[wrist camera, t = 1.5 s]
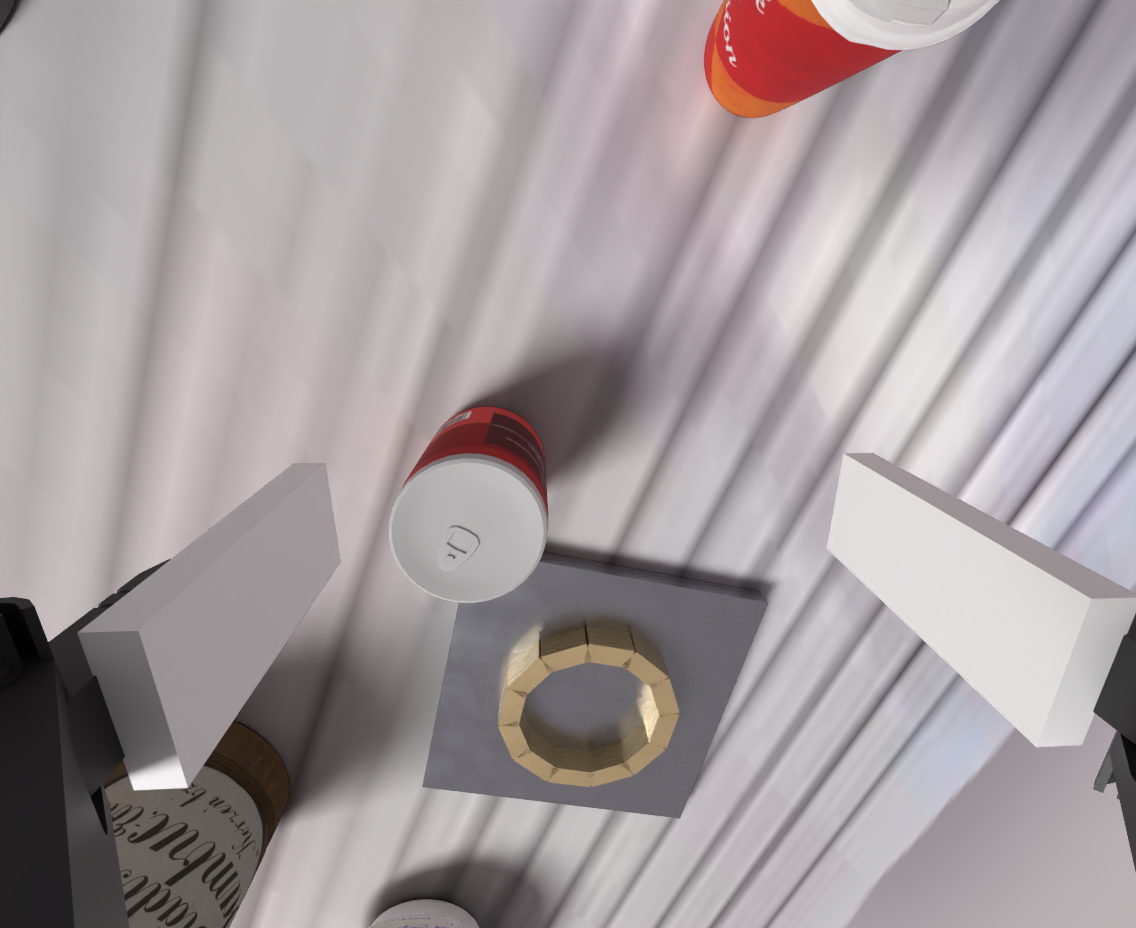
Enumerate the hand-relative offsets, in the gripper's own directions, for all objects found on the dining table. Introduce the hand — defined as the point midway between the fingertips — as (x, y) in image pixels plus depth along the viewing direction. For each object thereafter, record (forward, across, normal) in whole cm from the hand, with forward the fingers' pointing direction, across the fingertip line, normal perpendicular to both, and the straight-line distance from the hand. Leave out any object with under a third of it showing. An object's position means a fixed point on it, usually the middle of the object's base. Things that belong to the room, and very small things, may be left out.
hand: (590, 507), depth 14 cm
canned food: (+22, -5, -6) cm, 24 cm away
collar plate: (+22, +2, -25) cm, 34 cm away
